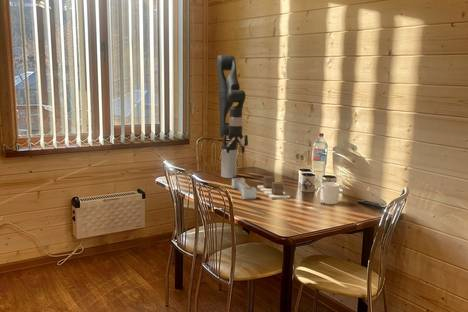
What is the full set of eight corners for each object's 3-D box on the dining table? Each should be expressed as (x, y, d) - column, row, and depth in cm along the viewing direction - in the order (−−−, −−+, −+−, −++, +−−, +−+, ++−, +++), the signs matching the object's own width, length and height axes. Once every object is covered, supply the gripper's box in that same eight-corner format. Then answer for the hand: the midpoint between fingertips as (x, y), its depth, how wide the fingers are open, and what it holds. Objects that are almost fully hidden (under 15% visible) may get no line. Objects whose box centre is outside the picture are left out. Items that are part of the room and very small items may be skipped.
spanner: (231, 186, 256) (231, 178, 255) (242, 186, 257) (242, 177, 257) (244, 199, 231) (244, 190, 230) (256, 199, 233) (256, 189, 232)
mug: (333, 199, 236) (335, 181, 234) (341, 204, 227) (342, 186, 226) (311, 199, 234) (312, 182, 232) (318, 204, 225) (319, 186, 223)
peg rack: (256, 186, 257) (257, 174, 256) (273, 186, 260) (274, 174, 259) (271, 199, 233) (272, 186, 231) (290, 198, 235) (290, 185, 234)
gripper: (245, 124, 267) (245, 152, 269) (222, 124, 263) (221, 152, 266) (249, 125, 260) (248, 153, 262) (225, 125, 256) (224, 154, 258)
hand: (235, 153), depth 264 cm, fingers open, 8 cm apart
